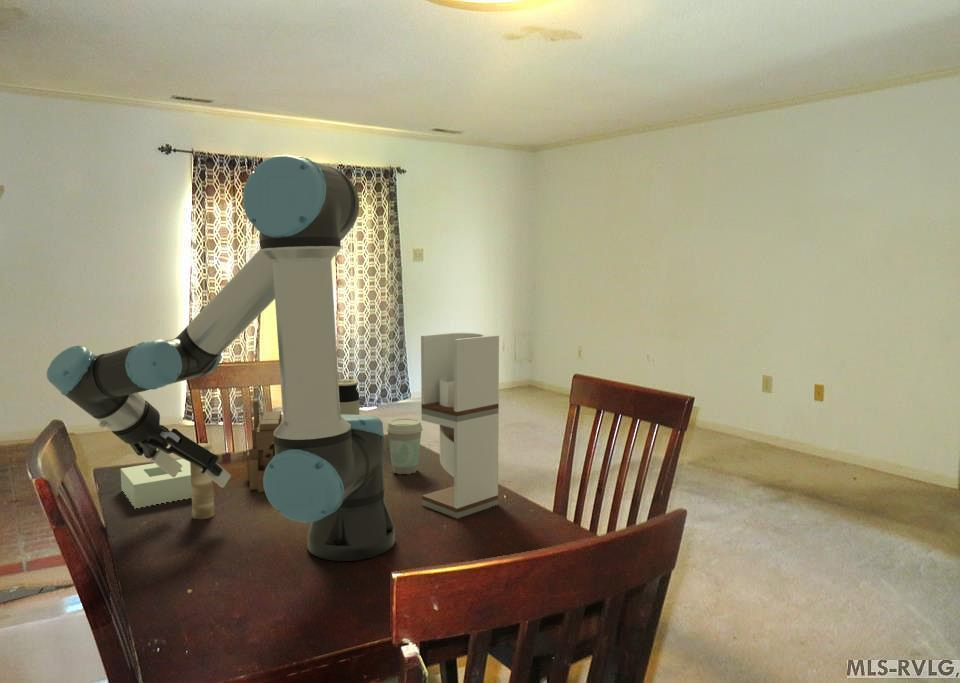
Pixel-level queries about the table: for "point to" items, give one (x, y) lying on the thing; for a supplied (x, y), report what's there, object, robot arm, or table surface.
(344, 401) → the travel mug
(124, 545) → the table surface
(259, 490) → the wooden puzzle
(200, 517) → the dowel
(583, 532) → the table surface
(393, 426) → the coffee cup
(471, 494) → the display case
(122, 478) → the socket block
